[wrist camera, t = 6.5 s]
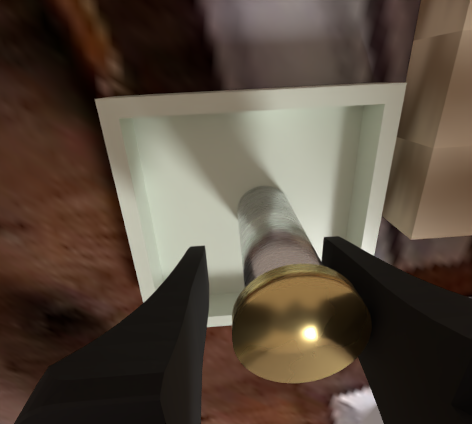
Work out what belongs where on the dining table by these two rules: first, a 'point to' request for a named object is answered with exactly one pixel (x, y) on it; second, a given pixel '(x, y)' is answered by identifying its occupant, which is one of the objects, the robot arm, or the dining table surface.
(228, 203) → the tray
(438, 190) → the hitch block
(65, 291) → the dining table surface
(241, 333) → the pin
